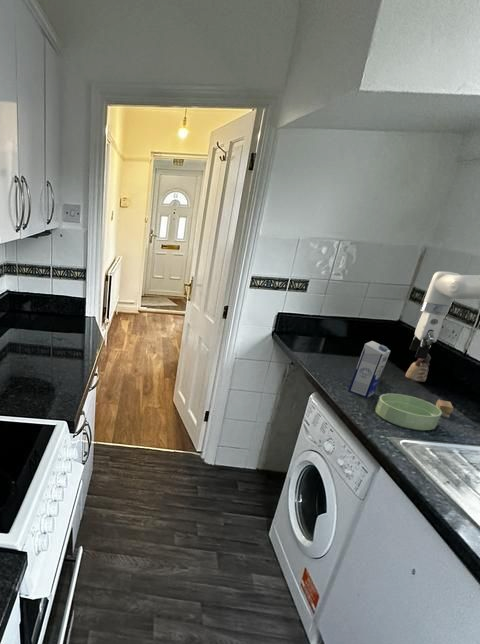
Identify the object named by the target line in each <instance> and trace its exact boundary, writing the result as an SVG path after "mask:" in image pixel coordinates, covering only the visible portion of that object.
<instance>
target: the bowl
mask: <svg viewBox="0 0 480 644" xmlns="http://www.w3.org/2000/svg"><path fill="white" fill-rule="evenodd" d="M374 411H375V413H376V414H377V415H378V417H381V418H382V419H383V420H385V421H386V422H388V423H391V424H392V425H395V426H398V427H401V428H404V429H408V430H414V431H432V430H435V429H436V428H437V427H438V425H439V422H440V419H441V417H442V416H441V415H442V411H441V410H440V409H439V408H438V407H437V406H436V404H433V403H431V402H429V401H426V400H425V399H422V398H418V397H414V396H412V395H407V394H401V393H384V394H381V395H380V396H379V397H378V400H377V403H376V406H375V408H374Z"/></svg>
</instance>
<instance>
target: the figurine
mask: <svg viewBox="0 0 480 644" xmlns="http://www.w3.org/2000/svg"><path fill="white" fill-rule="evenodd" d="M431 359H432V357H431V355H430V354H429V353H428V355H427V358H426V359H421V358H417V360H416V361H414V362H412V363H411V364H410V366H409V368H408V369H407V370H406V372H405V377H406V378H407V379H409V380H412V381H416V382H424V383H425V382H426V381H427V378H428V373H429V366H430V361H431Z"/></svg>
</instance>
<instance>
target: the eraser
mask: <svg viewBox="0 0 480 644" xmlns="http://www.w3.org/2000/svg"><path fill="white" fill-rule="evenodd" d="M435 406H437V407H438V408H439V409H440V410H441V411H442V415H441V417H444V418H447V419H448V418H450V416H451V414H452V413H453V410H454V406H453V404H452V402H451V401H448V400H443V399H437V401H436V403H435Z"/></svg>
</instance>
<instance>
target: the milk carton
mask: <svg viewBox="0 0 480 644" xmlns="http://www.w3.org/2000/svg"><path fill="white" fill-rule="evenodd" d="M390 354H391V350H390V349H389V348H388V346H385V345H384V344H380V343H378V342H376V341H374V340H371V341H368V342H366V343H364V346H363V348H362V351H361V354H360V357H359V360H358V362H357V365H356V368H355V371H354V372H353V373H354V374H353V377H352V379H351V382H350V384H349V387H348V390H347V391H348V392H349V391H350V392H349V393H352V394H354V393H355V395H358V396H360V397H363V398H364V399H365V398H366V399H368V398H370V397H371V396H373V395H374V394H375V392H376V389H377V387H378V384H379V382H380V379H381V376H382V375H383V372H384V369H385V366H386V365H387V361H388V360H389V359H388V358H389V356H390Z"/></svg>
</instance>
